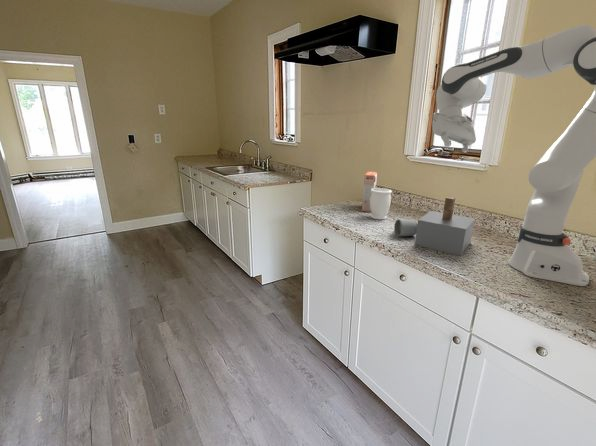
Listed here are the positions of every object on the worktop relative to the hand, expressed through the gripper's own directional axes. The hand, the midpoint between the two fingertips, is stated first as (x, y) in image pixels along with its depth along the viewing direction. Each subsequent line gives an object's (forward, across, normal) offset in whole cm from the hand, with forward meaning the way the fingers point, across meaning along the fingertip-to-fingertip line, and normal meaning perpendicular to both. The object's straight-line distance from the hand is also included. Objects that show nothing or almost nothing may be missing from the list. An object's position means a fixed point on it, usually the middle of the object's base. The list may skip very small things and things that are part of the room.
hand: (456, 148), depth 123 cm
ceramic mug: (+25, +2, +34) cm, 43 cm away
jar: (+9, +6, +55) cm, 56 cm away
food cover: (+31, +10, +21) cm, 39 cm away
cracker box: (-1, +10, +68) cm, 69 cm away
